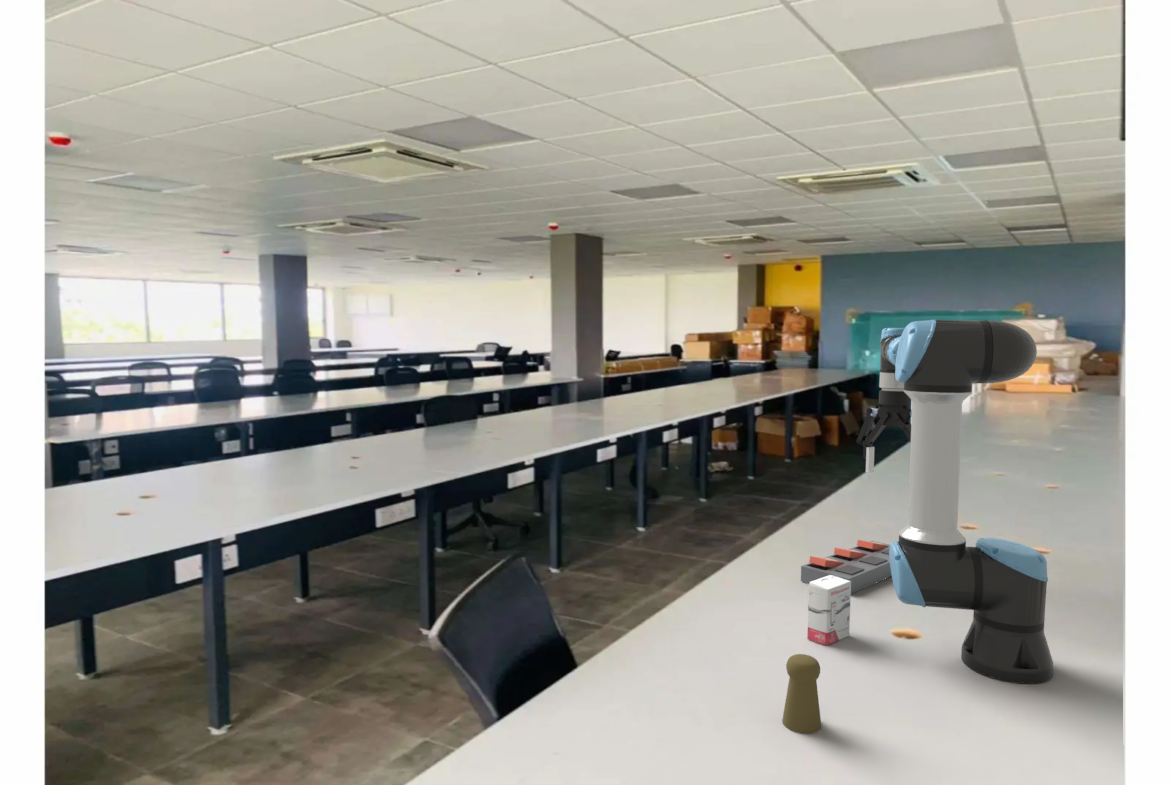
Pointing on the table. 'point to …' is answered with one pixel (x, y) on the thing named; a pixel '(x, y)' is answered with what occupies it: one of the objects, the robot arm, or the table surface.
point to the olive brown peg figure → (802, 695)
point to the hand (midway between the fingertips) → (892, 475)
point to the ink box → (828, 609)
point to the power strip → (853, 568)
